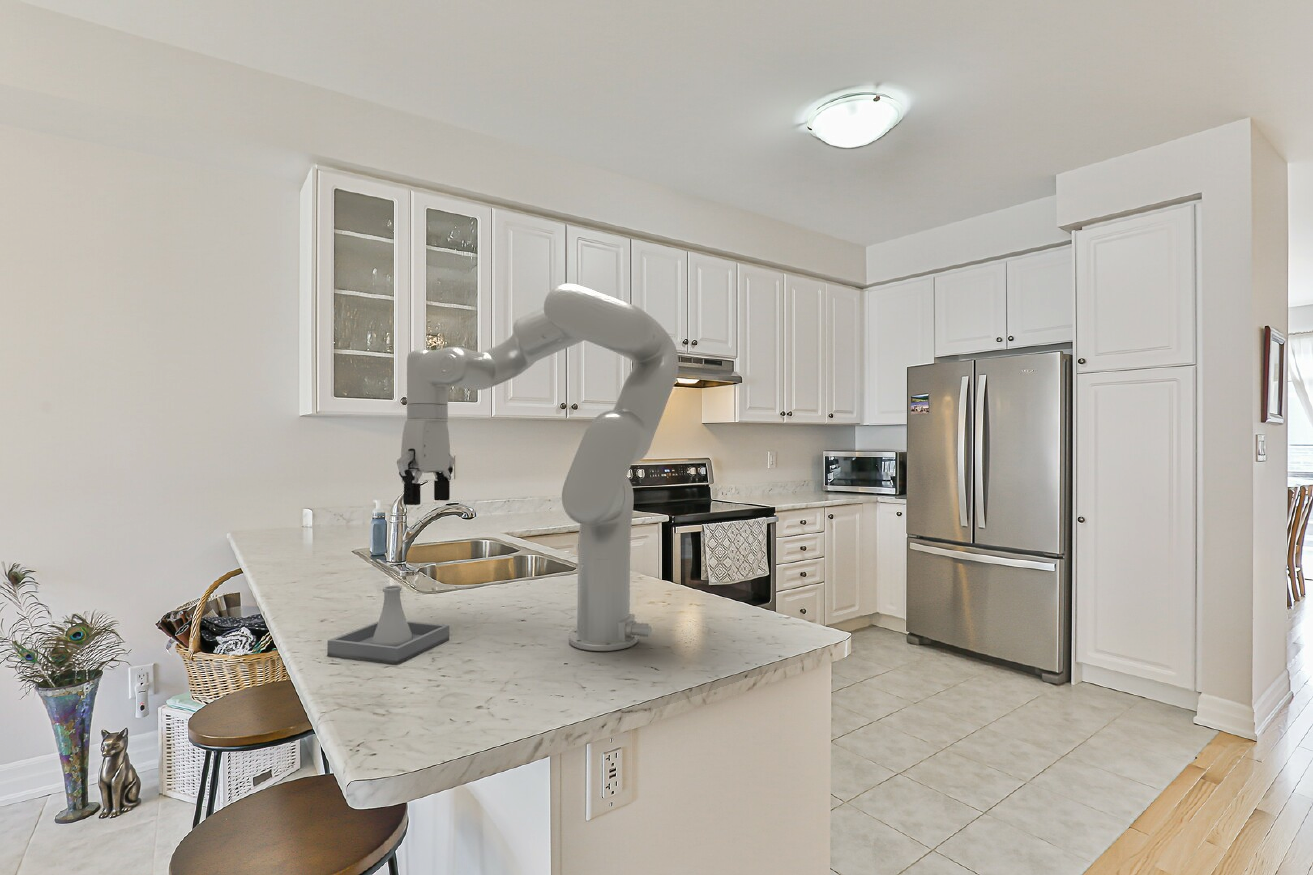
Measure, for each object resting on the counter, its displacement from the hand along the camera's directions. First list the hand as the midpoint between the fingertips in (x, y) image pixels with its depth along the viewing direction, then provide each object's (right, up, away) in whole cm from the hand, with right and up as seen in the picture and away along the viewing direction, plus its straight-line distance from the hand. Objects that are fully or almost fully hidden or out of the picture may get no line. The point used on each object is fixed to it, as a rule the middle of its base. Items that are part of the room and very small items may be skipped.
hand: (427, 502), depth 126 cm
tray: (-2, -24, -12) cm, 27 cm away
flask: (-2, -24, -12) cm, 27 cm away
